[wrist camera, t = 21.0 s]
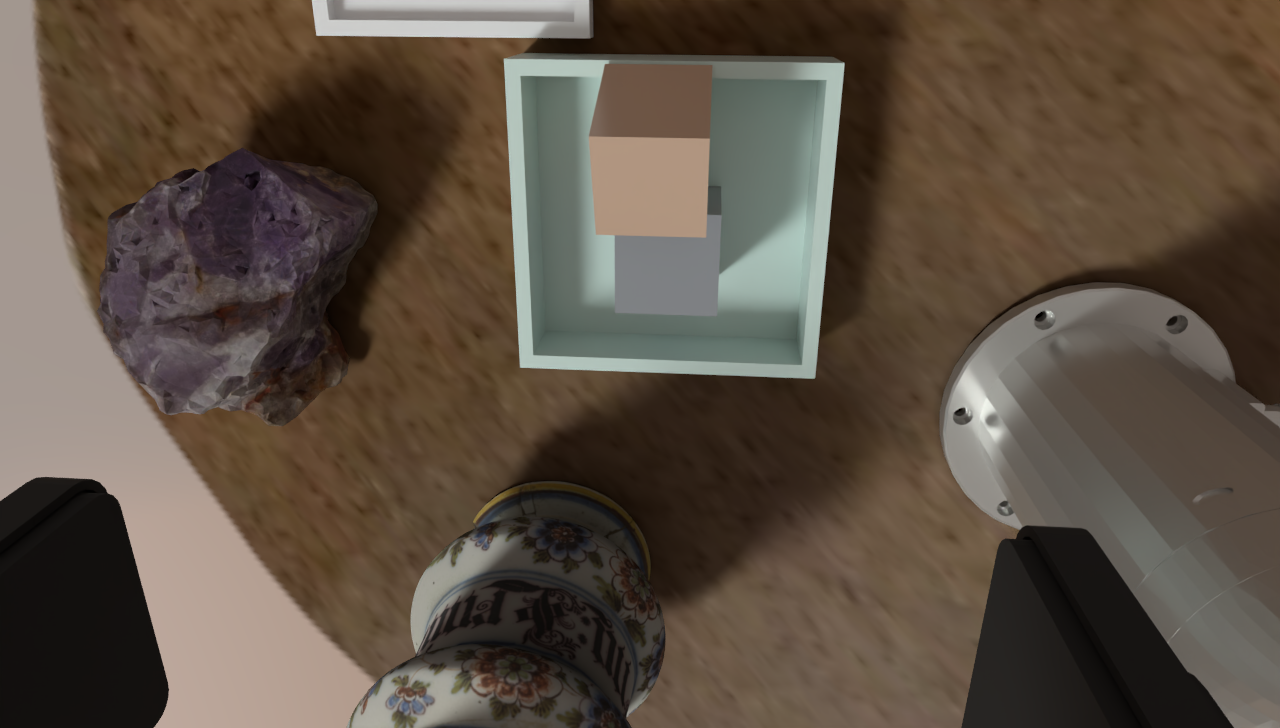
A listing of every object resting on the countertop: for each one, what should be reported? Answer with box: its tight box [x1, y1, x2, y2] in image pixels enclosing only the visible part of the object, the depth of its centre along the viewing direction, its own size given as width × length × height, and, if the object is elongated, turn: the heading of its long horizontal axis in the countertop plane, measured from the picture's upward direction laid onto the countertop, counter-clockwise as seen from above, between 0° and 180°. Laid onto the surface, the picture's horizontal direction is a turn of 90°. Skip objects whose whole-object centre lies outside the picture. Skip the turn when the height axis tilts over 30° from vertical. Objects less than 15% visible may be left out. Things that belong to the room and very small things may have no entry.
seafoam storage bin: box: [504, 53, 845, 379], centre depth 36 cm, size 13×13×4 cm
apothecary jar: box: [347, 481, 665, 728], centre depth 38 cm, size 12×12×18 cm
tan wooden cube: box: [589, 64, 712, 238], centre depth 32 cm, size 4×4×5 cm
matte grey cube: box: [615, 186, 722, 317], centre depth 35 cm, size 4×4×5 cm
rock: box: [97, 148, 378, 426], centre depth 37 cm, size 12×9×10 cm
